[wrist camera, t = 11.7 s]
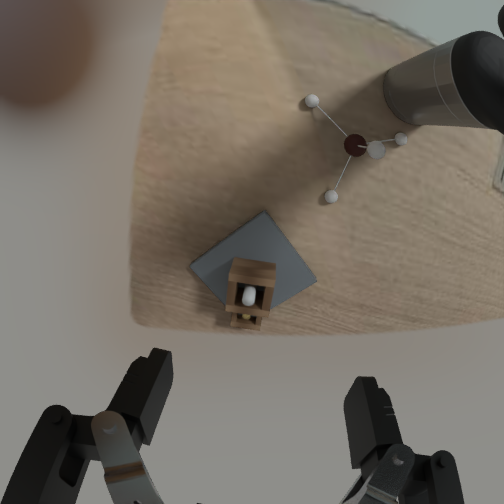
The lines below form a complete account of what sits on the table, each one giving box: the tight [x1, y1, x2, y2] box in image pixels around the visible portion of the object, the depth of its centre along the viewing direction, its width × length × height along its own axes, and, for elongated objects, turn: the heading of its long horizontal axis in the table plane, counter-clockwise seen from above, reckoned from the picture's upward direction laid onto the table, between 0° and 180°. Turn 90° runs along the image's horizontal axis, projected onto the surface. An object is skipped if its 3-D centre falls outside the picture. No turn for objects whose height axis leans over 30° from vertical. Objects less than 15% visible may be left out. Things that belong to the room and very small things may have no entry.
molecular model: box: [305, 94, 407, 203], centre depth 29 cm, size 13×15×13 cm
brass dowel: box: [242, 314, 251, 319], centre depth 43 cm, size 1×1×2 cm
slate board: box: [190, 210, 317, 317], centre depth 40 cm, size 14×13×7 cm
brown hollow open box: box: [225, 257, 276, 331], centre depth 41 cm, size 6×11×5 cm, turn 173°
